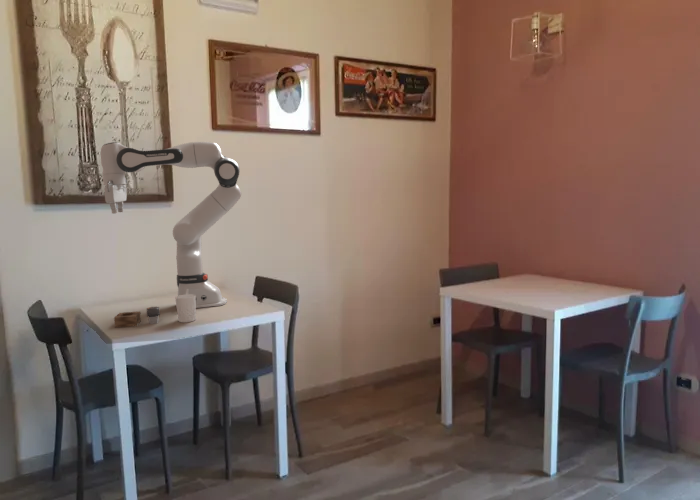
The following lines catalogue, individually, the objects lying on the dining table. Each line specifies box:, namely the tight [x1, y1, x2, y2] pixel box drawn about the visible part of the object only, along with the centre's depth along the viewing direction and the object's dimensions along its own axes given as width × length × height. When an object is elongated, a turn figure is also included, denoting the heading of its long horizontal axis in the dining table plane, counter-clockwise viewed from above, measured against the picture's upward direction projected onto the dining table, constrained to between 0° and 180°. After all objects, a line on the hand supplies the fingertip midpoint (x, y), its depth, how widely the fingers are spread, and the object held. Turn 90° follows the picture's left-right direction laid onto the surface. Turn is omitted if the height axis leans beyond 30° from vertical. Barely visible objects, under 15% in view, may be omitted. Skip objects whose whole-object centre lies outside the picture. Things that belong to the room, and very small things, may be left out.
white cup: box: [175, 294, 197, 323], centre depth 229 cm, size 8×8×10 cm
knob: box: [146, 306, 161, 325], centre depth 228 cm, size 5×5×6 cm
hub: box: [113, 311, 142, 328], centre depth 227 cm, size 8×8×4 cm
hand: (117, 212), depth 246 cm, fingers open, 8 cm apart
